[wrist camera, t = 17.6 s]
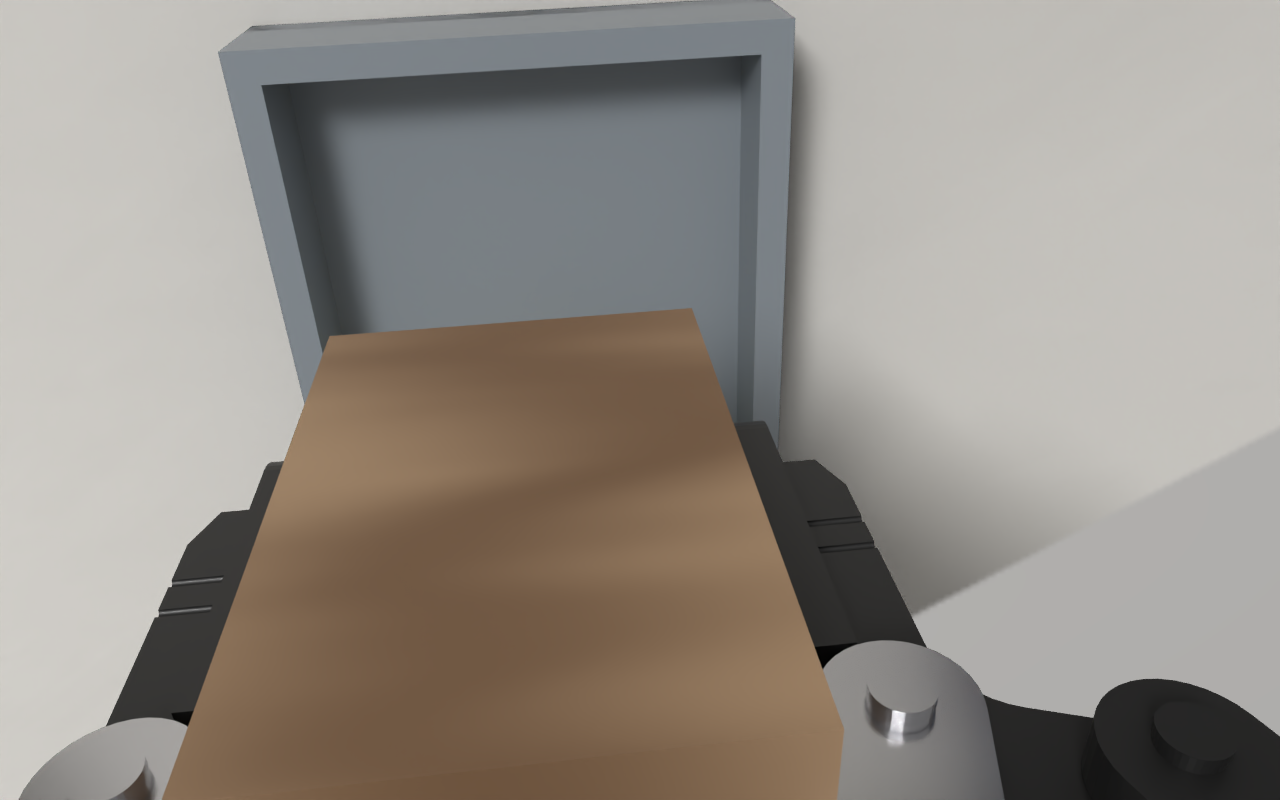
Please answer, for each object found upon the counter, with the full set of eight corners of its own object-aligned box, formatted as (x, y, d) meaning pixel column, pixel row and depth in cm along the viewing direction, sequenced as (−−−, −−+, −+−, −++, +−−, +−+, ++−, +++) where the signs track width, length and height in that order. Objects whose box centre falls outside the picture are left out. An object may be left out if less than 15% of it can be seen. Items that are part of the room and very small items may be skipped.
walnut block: (691, 308, 11) (844, 730, 6) (694, 581, 13) (808, 1072, 8) (329, 335, 11) (160, 806, 6) (389, 611, 13) (304, 1140, 8)
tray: (766, -4, 20) (795, 17, 18) (751, 574, 28) (770, 637, 26) (251, 26, 19) (217, 51, 17) (384, 610, 27) (371, 678, 25)
